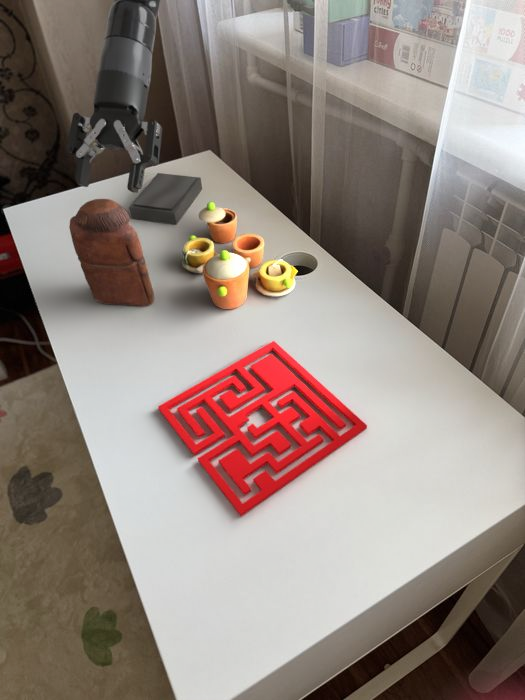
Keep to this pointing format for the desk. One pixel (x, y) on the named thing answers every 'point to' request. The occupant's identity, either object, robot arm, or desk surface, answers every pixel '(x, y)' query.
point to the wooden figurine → (111, 254)
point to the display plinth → (166, 198)
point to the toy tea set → (234, 261)
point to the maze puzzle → (235, 461)
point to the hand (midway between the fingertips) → (107, 188)
